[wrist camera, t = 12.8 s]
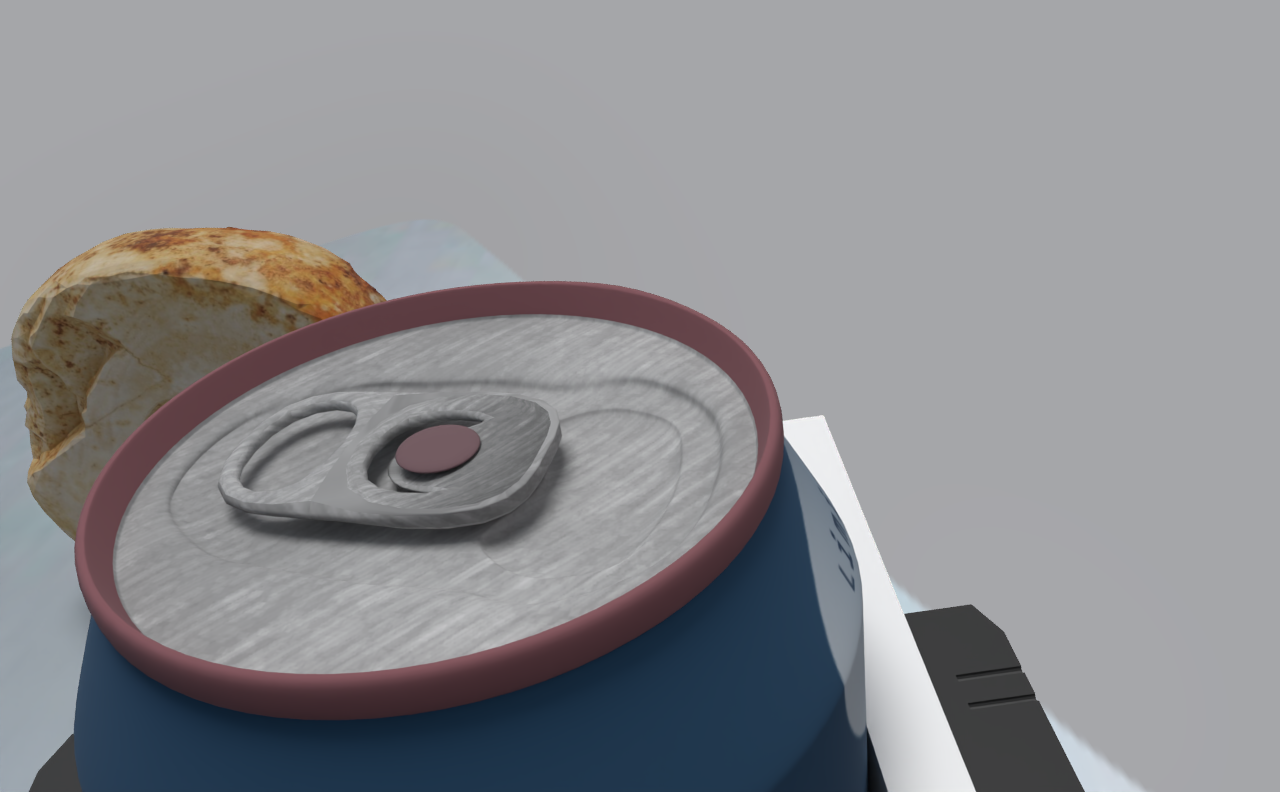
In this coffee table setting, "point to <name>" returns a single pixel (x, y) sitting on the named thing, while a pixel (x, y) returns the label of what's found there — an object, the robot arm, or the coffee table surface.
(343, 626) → the soda can
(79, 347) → the stone disc
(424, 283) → the coffee table surface
